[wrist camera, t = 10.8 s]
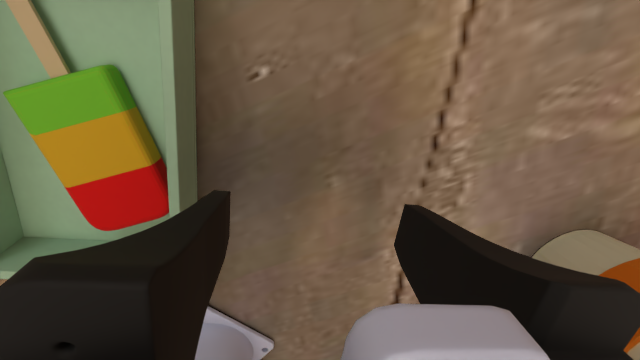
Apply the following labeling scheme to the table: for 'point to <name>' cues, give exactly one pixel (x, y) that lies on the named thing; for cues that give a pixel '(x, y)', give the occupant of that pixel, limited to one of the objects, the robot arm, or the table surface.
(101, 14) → the tote
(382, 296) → the table surface
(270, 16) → the table surface
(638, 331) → the reusable coffee cup
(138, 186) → the popsicle
